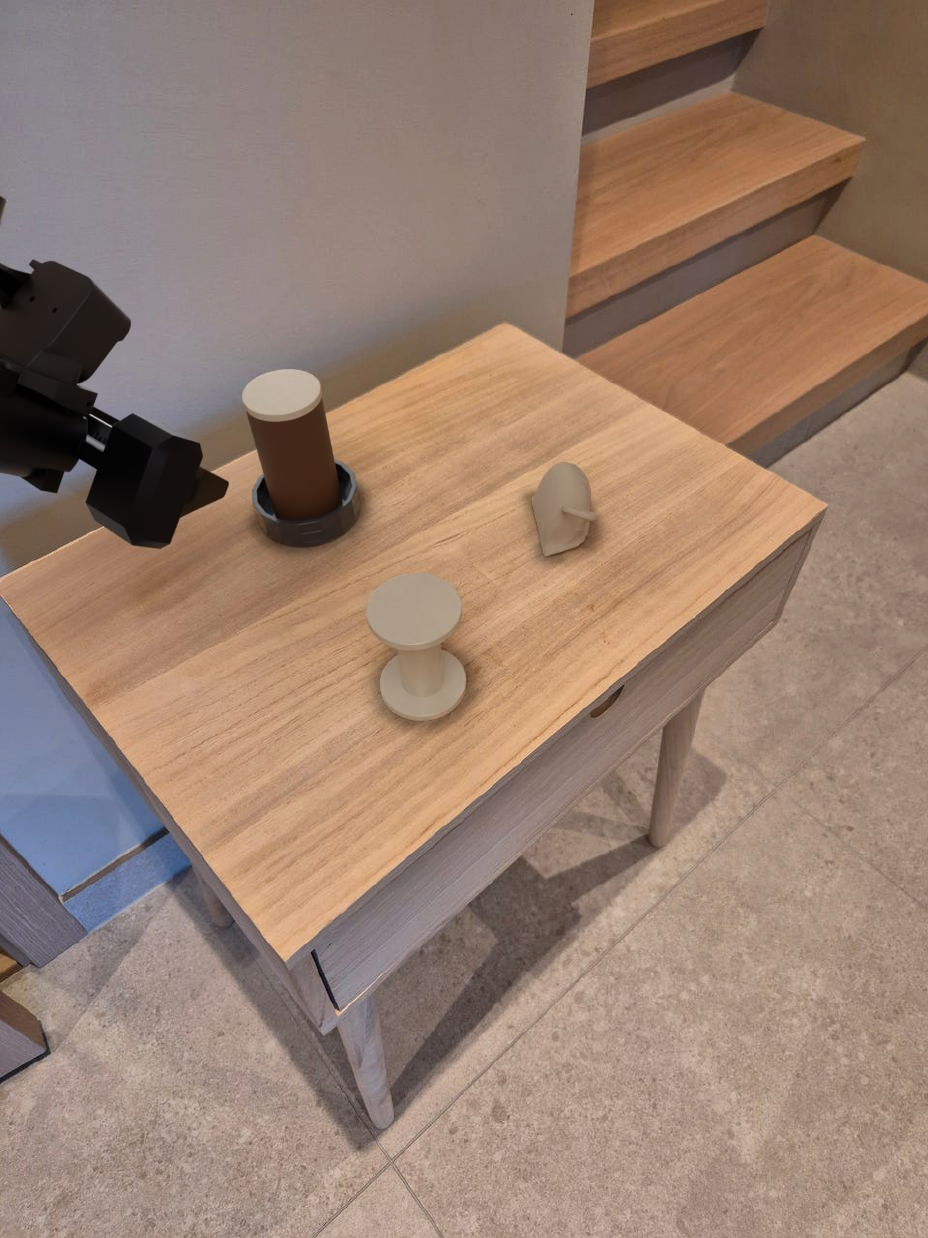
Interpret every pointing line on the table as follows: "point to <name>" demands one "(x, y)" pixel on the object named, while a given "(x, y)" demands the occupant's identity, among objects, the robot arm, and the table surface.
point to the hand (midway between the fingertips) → (178, 462)
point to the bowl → (312, 529)
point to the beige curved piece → (563, 508)
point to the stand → (418, 644)
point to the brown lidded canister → (293, 443)
